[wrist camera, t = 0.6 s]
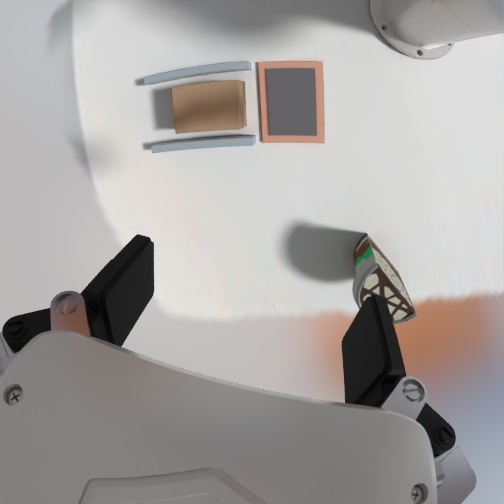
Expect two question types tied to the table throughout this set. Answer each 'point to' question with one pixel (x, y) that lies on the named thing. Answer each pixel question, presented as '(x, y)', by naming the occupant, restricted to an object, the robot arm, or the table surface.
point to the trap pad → (292, 101)
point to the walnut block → (209, 106)
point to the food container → (380, 281)
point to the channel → (201, 142)
